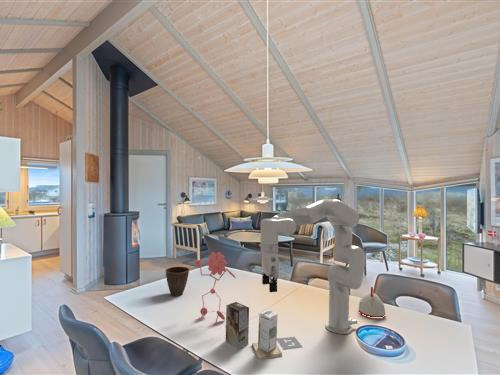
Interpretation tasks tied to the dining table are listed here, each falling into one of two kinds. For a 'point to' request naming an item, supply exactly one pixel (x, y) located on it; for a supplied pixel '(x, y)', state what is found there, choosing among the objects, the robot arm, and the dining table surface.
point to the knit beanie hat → (371, 305)
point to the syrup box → (267, 331)
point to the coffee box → (237, 324)
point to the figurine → (215, 265)
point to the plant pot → (177, 279)
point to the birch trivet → (264, 354)
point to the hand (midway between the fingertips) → (269, 287)
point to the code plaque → (289, 343)
